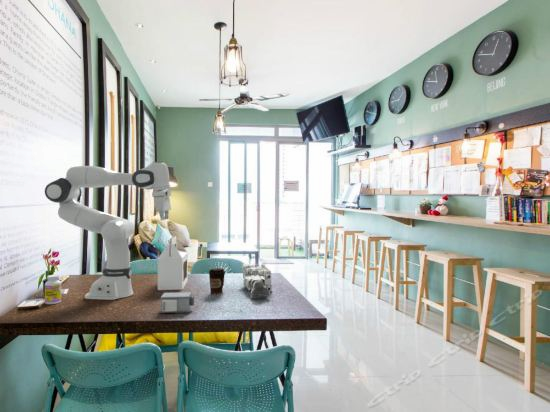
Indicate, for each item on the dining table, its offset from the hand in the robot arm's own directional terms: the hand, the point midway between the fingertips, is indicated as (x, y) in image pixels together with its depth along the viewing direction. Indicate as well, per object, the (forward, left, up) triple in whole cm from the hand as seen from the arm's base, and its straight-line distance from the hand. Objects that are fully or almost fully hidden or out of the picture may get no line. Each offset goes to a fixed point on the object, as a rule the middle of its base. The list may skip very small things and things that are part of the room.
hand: (164, 219), depth 186 cm
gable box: (+1, +20, -39) cm, 44 cm away
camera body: (+11, -28, -39) cm, 49 cm away
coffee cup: (+27, 0, -39) cm, 47 cm away
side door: (+9, -33, -38) cm, 51 cm away
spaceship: (+49, +3, -39) cm, 63 cm away
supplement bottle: (-49, -12, -39) cm, 64 cm away
